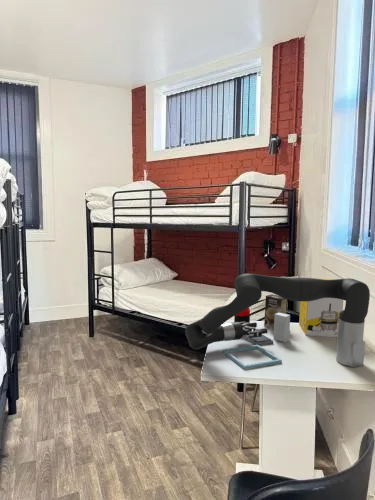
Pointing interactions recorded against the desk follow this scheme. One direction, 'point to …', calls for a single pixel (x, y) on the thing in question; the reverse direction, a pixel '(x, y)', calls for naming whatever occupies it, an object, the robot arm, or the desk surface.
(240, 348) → the frame
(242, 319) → the soda can
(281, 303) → the coffee box
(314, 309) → the packaging box
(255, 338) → the ink pad
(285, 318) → the skincare box
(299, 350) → the desk surface
